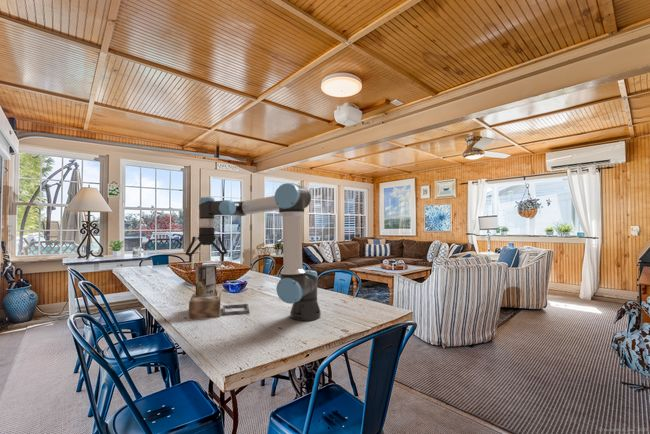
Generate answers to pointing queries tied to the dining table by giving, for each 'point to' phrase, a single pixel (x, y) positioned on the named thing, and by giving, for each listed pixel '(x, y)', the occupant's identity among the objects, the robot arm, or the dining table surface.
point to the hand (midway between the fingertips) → (206, 268)
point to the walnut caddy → (211, 307)
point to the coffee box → (205, 281)
